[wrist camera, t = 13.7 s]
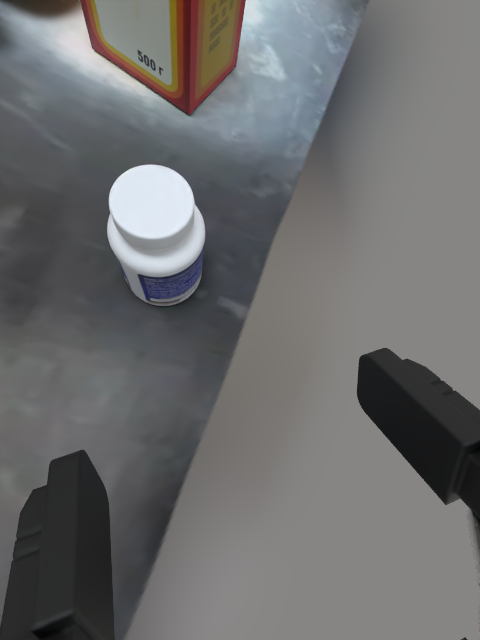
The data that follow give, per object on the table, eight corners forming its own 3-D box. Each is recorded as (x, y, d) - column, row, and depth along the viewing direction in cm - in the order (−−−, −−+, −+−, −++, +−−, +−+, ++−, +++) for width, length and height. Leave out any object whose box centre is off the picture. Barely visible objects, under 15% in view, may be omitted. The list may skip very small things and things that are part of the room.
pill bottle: (215, 262, 27) (229, 190, 18) (174, 321, 25) (169, 274, 17) (153, 223, 27) (137, 133, 18) (108, 280, 25) (69, 211, 17)
